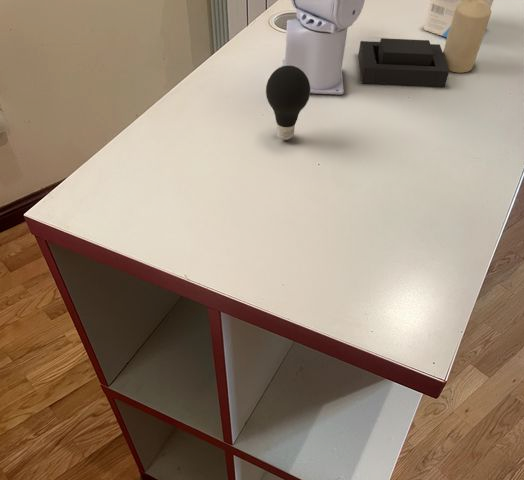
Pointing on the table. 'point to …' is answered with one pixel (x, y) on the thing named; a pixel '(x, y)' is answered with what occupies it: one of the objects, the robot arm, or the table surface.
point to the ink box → (442, 16)
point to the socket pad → (401, 69)
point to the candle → (466, 34)
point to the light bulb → (287, 97)
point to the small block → (405, 52)
